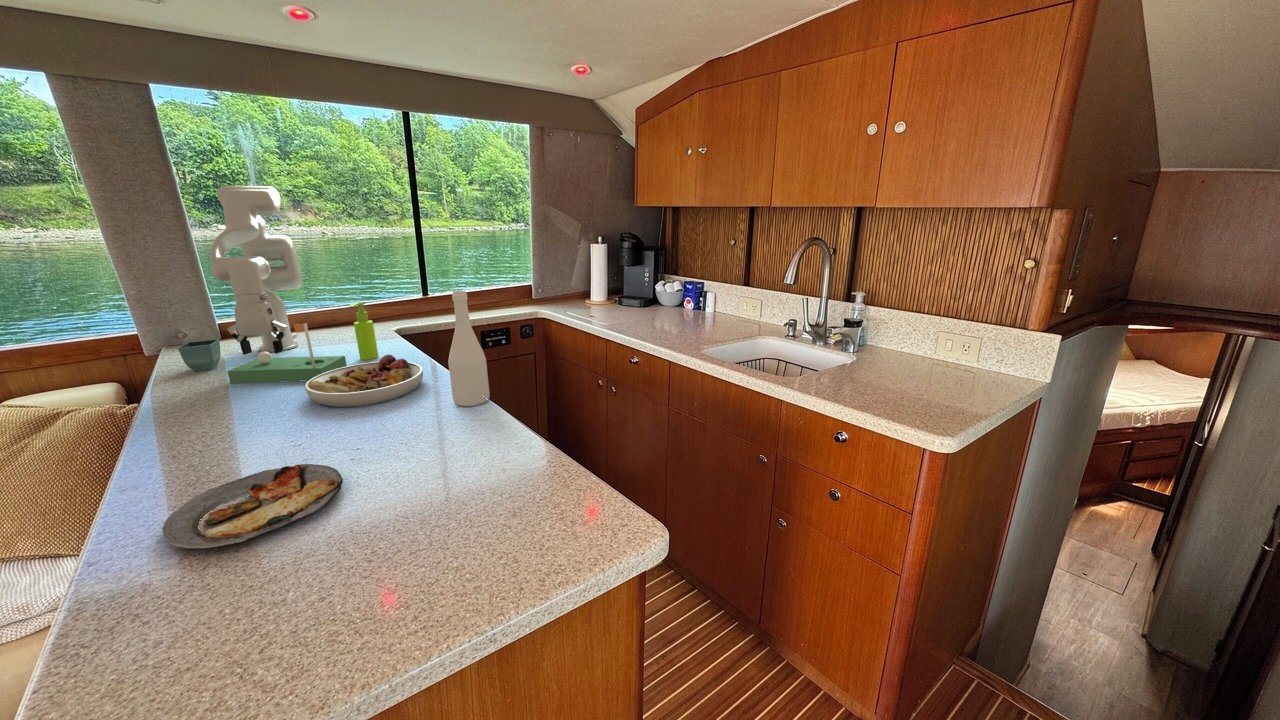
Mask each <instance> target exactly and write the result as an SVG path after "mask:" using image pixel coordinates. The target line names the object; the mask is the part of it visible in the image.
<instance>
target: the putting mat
mask: <svg viewBox="0 0 1280 720" xmlns="http://www.w3.org/2000/svg"><path fill="white" fill-rule="evenodd" d="M293 326H294V331H295V332H294V333H297V332H304V333H305V339H306V343H307V348H308V352H309V356H294V357H293V356H290V357H273V359H272V361H271V362H270V363H268V364H262V363H260V362H259V361H258V360H257V358H256V359H252V360H250V361H249V362H246V363H243V364H242V365H239V366H237V367H234V368H232V369H229V370H227V376H228V378H229V383H230V384H252V383H253V384H254V383H255V382H259V383H281V382H280V381H292V382H301V381H300V380H310V379H312V378H313V377H315V376H317V375H320V374H322V373H325V372H328V371H331V370H334V369H338V368H342V367H346V366H348V365H347V360H346V355H331V356H329V355H327V356H326V355H325V356H323V355H322V356H314V352H313V348H312V343H311V338H310V333H309V329H308V324H307V323H296V324H293Z"/></svg>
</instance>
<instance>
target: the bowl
mask: <svg viewBox="0 0 1280 720" xmlns="http://www.w3.org/2000/svg"><path fill="white" fill-rule="evenodd" d="M423 369H424V368H423V367H422V365H420V364H418V363H415V362H411V361H407V360H406V359H404V358H399V359H397V358H396V357H395V356H393V355H392V354H386V355H384V356H382V357H381V358H380V359H379V361H372V362H371V361H370V362H365V363H357V364H352V365H347V366H346V367H342V368H338V369H334V370H331V371H328V372H325V373H322V374H320V375H317V376H315V377H313V378H312V379H310V380H309V381H306V382H305V385H304V388H305V392H306V394H307V396H308V397H309V398H310V399H311V400H312V401H313V402H315V403H317V404H320V405H323V406H327V407H332V408H333V407H334V408H352V407H353V406H355V407H363V406H369V405H375V404H376V405H377V404H379V403H380V402H381V403H385V402H387V401H388V400H389V401H391V400H395V399H398V398H401V397H402V396H405V395H407V394H409V393H411V392H412V391H413V390H415V389H417V387H419V385H420V384H421V383H422V380H423V378H424V370H423ZM400 396H401V397H400ZM381 403H380V404H381Z"/></svg>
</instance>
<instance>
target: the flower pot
mask: <svg viewBox="0 0 1280 720" xmlns="http://www.w3.org/2000/svg"><path fill="white" fill-rule="evenodd" d="M177 350H178V352H179V355H180V357H181V359H182V361H183V363H184V364H185V365H186V366H187V367H188V368H189V369H191V370H192V371H193V372H200V370H201V371H208V370H210V369H211V370H213V369H215V368H216V367H218V364H219V362H220V360H221V345H220V339H210V340H209V339H206V340H200V341H199V340H197V341H188V342H185V343H184V344H181V345H180V346H178V347H177Z"/></svg>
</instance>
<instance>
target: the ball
mask: <svg viewBox="0 0 1280 720" xmlns="http://www.w3.org/2000/svg"><path fill="white" fill-rule="evenodd" d="M273 358H274V357H273V355H272V352H266V351H264V352H261V351H259V353H257V356H256V359H257V360H258V361H259V362H260V363H262V364H268V363H270V362H271V361H272V359H273Z"/></svg>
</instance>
